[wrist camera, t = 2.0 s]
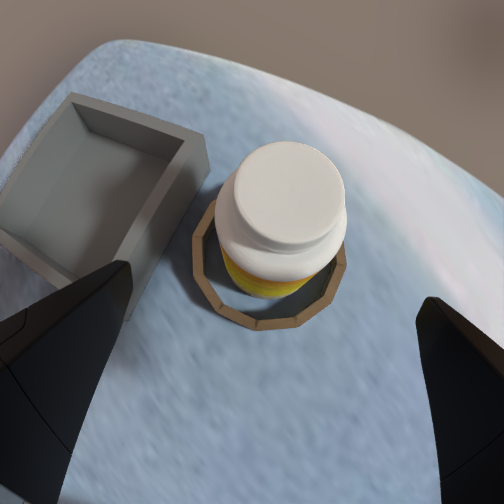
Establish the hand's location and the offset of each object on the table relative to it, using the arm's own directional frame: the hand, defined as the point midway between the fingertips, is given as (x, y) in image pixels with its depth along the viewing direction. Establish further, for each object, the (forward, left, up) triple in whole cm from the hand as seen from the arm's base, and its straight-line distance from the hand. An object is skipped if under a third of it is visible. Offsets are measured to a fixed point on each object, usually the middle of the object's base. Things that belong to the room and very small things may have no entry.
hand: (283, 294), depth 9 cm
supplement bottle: (+4, +1, -11) cm, 12 cm away
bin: (+1, +13, -11) cm, 17 cm away
